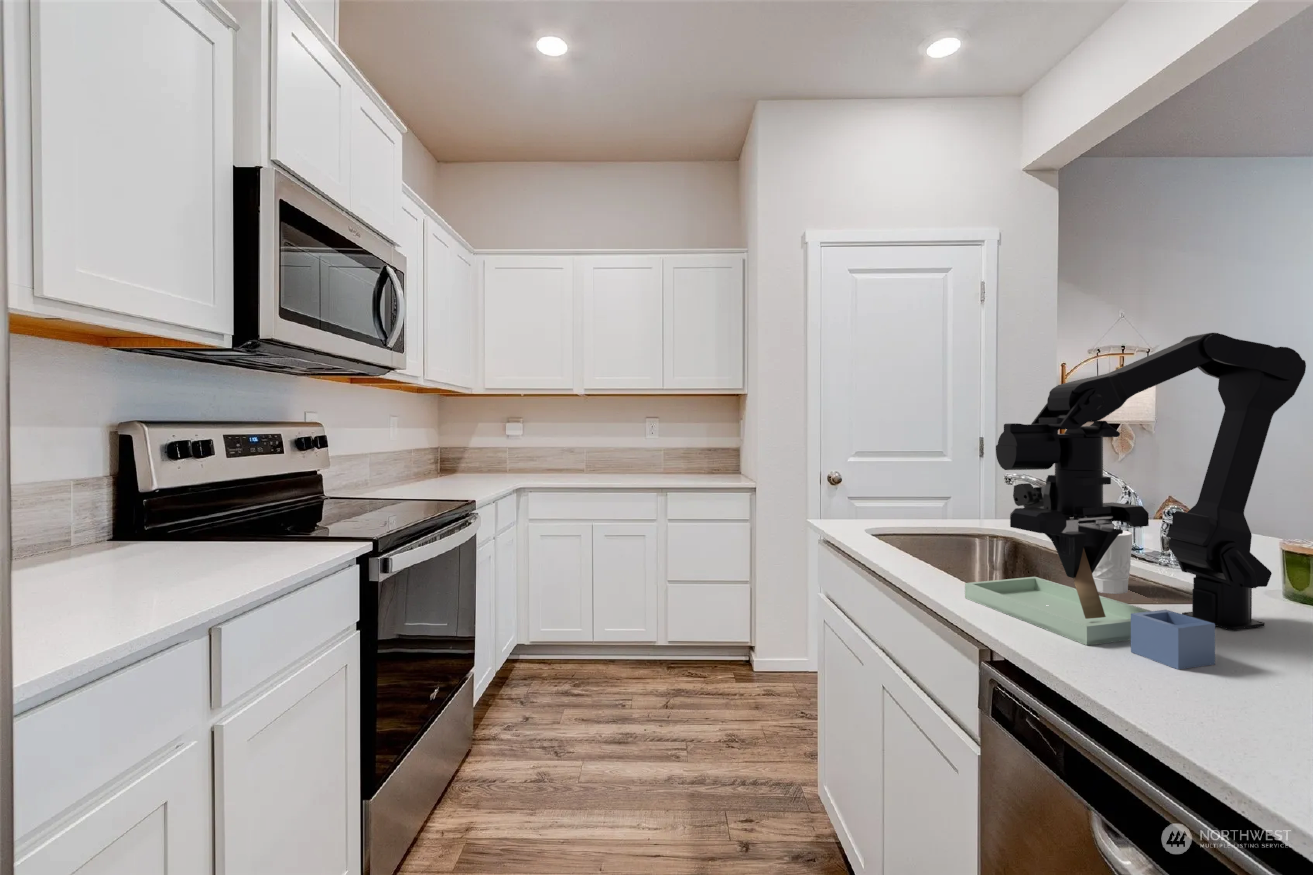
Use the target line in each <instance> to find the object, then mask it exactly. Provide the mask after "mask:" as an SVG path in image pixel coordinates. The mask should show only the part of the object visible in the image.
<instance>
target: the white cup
mask: <svg viewBox="0 0 1313 875" xmlns="http://www.w3.org/2000/svg"><path fill="white" fill-rule="evenodd" d="M1122 530H1123V533H1122V534H1119V535H1118V536H1117V537H1116V539H1115V540H1114V541H1113V543H1112V544H1111V545H1110V547H1109V548H1108V549H1107V551H1106V552H1105V554H1104V555H1103V557H1102V559H1101V560H1100V562H1099V564H1098V565H1097V567H1096V568H1095V570H1094V572H1093V573H1092V575H1093V578H1094V581H1095V585H1096V588H1097V591H1098V593H1099V594H1100V593H1101V594H1110V595H1111V594H1112V595H1113V594H1114V595H1119V594H1121V595H1122V594H1127V593H1129V592H1128V591H1129V578H1130V573H1131V572H1130V571H1131V562H1132V561H1131V560H1132V544H1133V542H1132V541H1133V533H1132V532H1131V531H1128V530H1124V529H1122Z"/></svg>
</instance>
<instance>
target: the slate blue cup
mask: <svg viewBox="0 0 1313 875" xmlns="http://www.w3.org/2000/svg"><path fill="white" fill-rule="evenodd" d="M1130 652H1131V653H1132V654H1135V655H1137V656H1140V657H1144V658H1146V659H1149V660H1152V661H1155V662H1157V663H1160V664H1162V665H1165V666H1168V667H1170V668H1173V669H1176V670H1183V669H1184V670H1185V669H1190V668H1192V667H1193V668H1198V667H1205V666H1212V665H1213V666H1214V665H1216V626H1215V623H1211V622H1208V621H1204V620H1201V619H1197V618H1194V617H1190V616H1187V615H1183V614H1182V613H1179V612H1175V611H1172V610H1168V609H1160V610H1159V609H1157V610H1150V611H1149V612H1140V613H1131V640H1130Z"/></svg>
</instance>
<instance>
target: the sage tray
mask: <svg viewBox="0 0 1313 875" xmlns="http://www.w3.org/2000/svg"><path fill="white" fill-rule="evenodd" d="M1099 597H1100V600H1101V603H1102V607H1103V610H1104V613H1105V616H1106V617H1102V618H1090V619H1085V616H1084V612H1083V609H1082V606H1081V603H1080V599H1079V596H1078V593H1077V590H1076V587H1072V586H1069V585H1064V584H1061V583H1057V582H1054V581H1051V580H1048V579H1044V578H1042V577H1038V576H1029V577H1018V578H1007V579H997V580H995V579H994V580H985V581H984V580H983V581H974V582H973V581H972V582H965V583H964V598H965V599H967V600H970V601H972V602H974V603H976V604H979V605H982V606H985V607H987V608H990V609H992V610H995V611H997V612H1000V613H1002V614H1005V615H1008V616H1010V617H1013V618H1015V619H1018V620H1021V621H1023V622H1025V623H1028V624H1031V625H1033V626H1036V627H1039V628H1041V629H1043V630H1047V631H1048V632H1051V633H1053V634H1056V635H1059V636H1062V637H1064V638H1067V639H1069V640H1072V641H1075V642H1076V643H1080V644H1082V645H1085V646H1094V645H1102V644H1109V643H1117V642H1124V641H1125V642H1126V641H1127V642H1128V641H1131V613H1140V612H1149V611H1151V610H1150V609H1147V608H1142V607H1139V606H1136V605H1132V604H1129V603H1127V602H1123V601H1121V600H1120V601H1119V600H1116V599H1112V598H1109V597H1105V596H1103V595H1099ZM1046 605H1049V606H1046Z"/></svg>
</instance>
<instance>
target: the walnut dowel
mask: <svg viewBox="0 0 1313 875" xmlns="http://www.w3.org/2000/svg"><path fill="white" fill-rule="evenodd" d="M1072 580H1073V582H1074V586H1075V589H1076V590H1077V593H1078V596H1079V599H1080V603H1081V606H1082V609H1083V612H1084V616H1085V619H1090V618H1102V617H1106V616H1105V613H1104V610H1103V607H1102V603H1101V600H1100V597H1099V596H1100V595H1099V594H1100V593H1099V592H1098V591H1097V588H1096V585H1095V581H1094V578H1093V575H1092V572H1091V569H1090V566H1089V563H1088V559H1087V556H1086V553H1085V550H1084V549H1083V553H1082V557H1081V561H1080V566H1079V569H1078V572H1077V575H1076V577H1075V578H1072Z"/></svg>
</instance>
